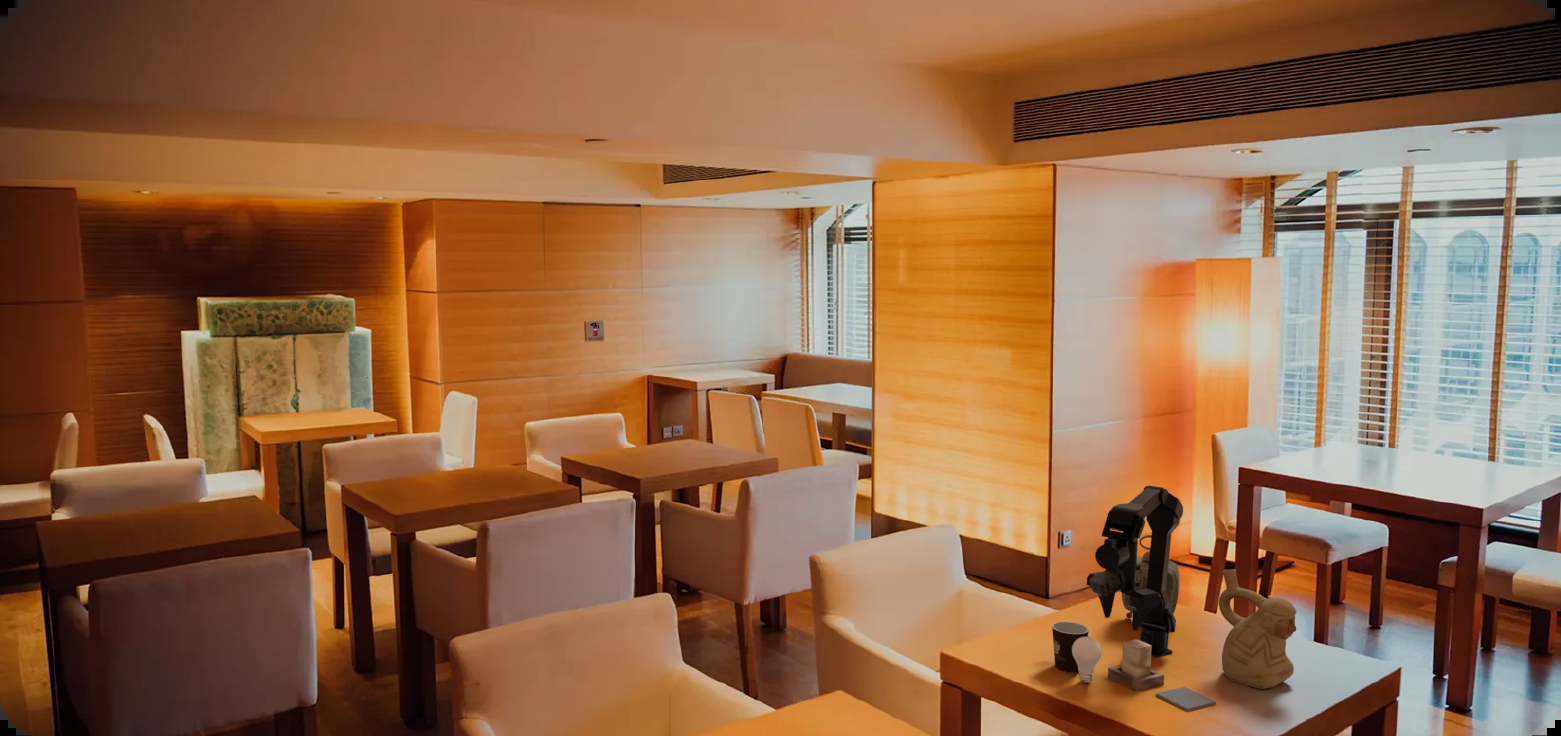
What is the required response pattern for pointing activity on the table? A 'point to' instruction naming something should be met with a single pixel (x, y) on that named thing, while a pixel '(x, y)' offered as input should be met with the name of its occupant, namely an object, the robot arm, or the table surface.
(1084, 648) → the light bulb
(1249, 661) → the ceramic vessel
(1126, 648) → the maple block
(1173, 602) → the tabletop clock
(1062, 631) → the coffee mug
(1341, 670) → the table surface
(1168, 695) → the felt pad
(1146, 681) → the frame
